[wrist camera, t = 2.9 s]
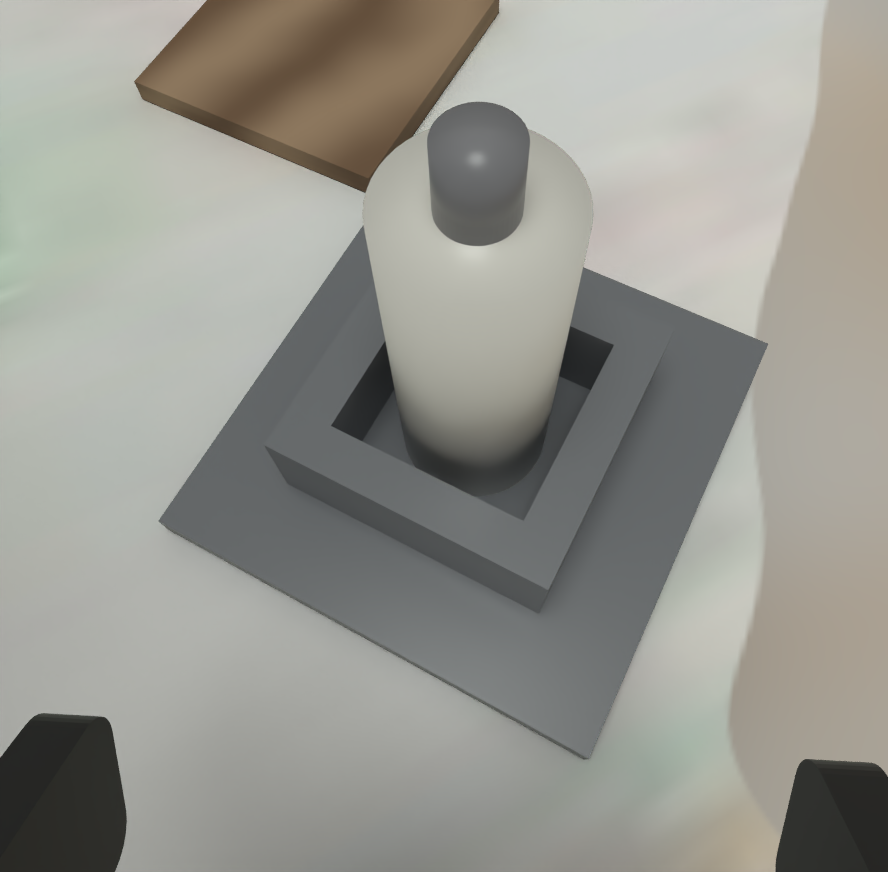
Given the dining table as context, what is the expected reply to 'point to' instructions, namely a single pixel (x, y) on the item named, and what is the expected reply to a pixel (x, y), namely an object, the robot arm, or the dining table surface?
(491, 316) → the bottle
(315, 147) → the walnut board
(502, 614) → the socket block
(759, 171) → the dining table surface
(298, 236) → the dining table surface
